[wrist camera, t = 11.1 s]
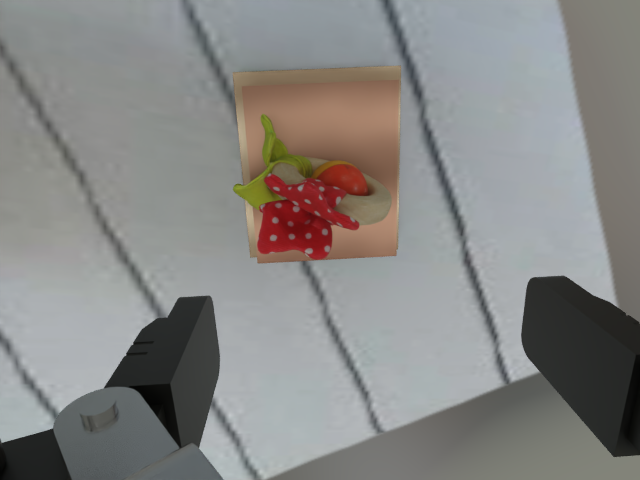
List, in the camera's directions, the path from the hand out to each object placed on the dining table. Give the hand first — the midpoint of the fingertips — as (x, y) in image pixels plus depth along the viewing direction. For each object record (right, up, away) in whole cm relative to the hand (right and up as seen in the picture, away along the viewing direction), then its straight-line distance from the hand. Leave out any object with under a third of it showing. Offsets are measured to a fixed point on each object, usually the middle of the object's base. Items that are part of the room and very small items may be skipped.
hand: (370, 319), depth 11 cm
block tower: (-1, +9, +26) cm, 28 cm away
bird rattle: (-2, +7, +19) cm, 20 cm away
